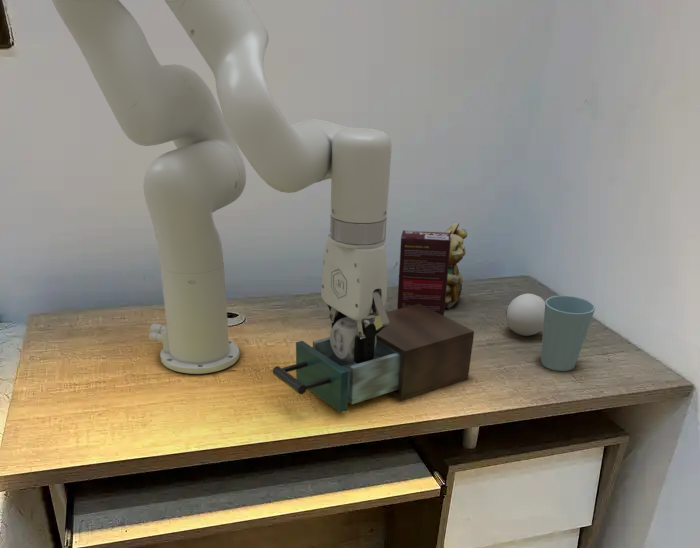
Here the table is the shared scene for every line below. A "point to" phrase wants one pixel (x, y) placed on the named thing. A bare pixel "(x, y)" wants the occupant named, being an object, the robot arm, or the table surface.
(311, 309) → the table surface
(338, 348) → the die
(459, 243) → the decorative figurine
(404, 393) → the cabinet
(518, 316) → the white ball
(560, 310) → the cup
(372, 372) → the teal pull-out drawer
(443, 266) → the supplement box
